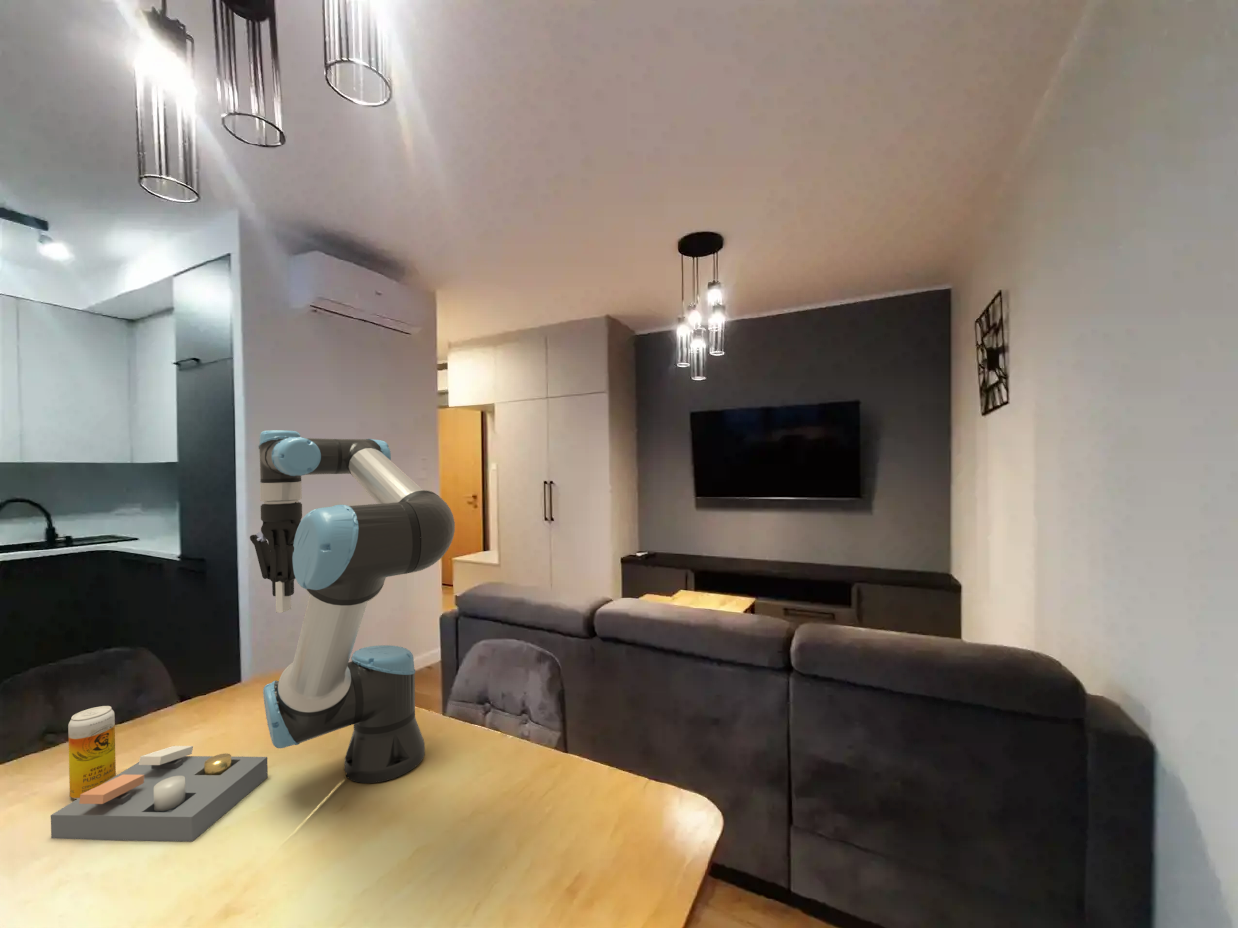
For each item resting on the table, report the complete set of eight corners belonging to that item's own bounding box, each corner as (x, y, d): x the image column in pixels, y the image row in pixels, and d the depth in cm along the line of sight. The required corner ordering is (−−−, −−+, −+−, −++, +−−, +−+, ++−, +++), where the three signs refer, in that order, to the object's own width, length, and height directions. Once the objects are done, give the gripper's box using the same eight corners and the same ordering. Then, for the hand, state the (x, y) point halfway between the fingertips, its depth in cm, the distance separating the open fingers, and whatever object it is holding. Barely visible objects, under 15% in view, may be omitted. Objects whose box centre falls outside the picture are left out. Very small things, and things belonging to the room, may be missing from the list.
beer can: (86, 804, 93) (84, 721, 93) (60, 800, 95) (59, 719, 94) (124, 783, 99) (122, 706, 99) (100, 780, 100) (98, 703, 100)
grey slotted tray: (267, 776, 101) (267, 751, 101) (192, 841, 84) (191, 810, 84) (149, 775, 102) (148, 750, 102) (51, 839, 85) (50, 808, 85)
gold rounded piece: (236, 771, 99) (236, 753, 99) (219, 784, 95) (219, 765, 95) (216, 771, 100) (216, 753, 100) (199, 784, 96) (198, 765, 96)
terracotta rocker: (143, 783, 91) (144, 774, 91) (102, 803, 84) (103, 794, 84) (121, 782, 91) (122, 774, 92) (79, 803, 84) (80, 794, 85)
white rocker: (191, 753, 101) (193, 745, 101) (159, 764, 94) (161, 756, 95) (172, 753, 101) (173, 745, 101) (138, 764, 94) (140, 756, 95)
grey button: (191, 795, 89) (191, 775, 89) (170, 811, 85) (170, 790, 85) (169, 795, 90) (168, 775, 90) (147, 811, 86) (147, 790, 86)
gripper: (321, 500, 115) (323, 605, 115) (264, 501, 116) (266, 605, 116) (299, 503, 108) (301, 615, 108) (238, 503, 108) (241, 616, 108)
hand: (283, 610), depth 112 cm, fingers closed
